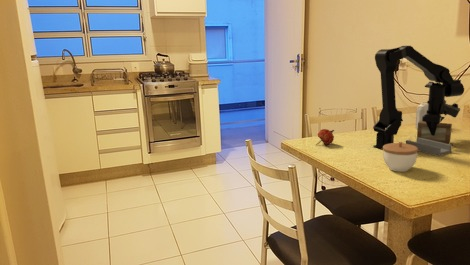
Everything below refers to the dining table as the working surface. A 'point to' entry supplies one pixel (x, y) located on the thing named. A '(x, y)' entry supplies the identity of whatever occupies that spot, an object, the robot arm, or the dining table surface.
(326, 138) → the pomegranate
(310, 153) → the dining table surface
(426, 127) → the brown flat block
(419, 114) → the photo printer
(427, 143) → the display ledge
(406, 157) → the lidded jar
